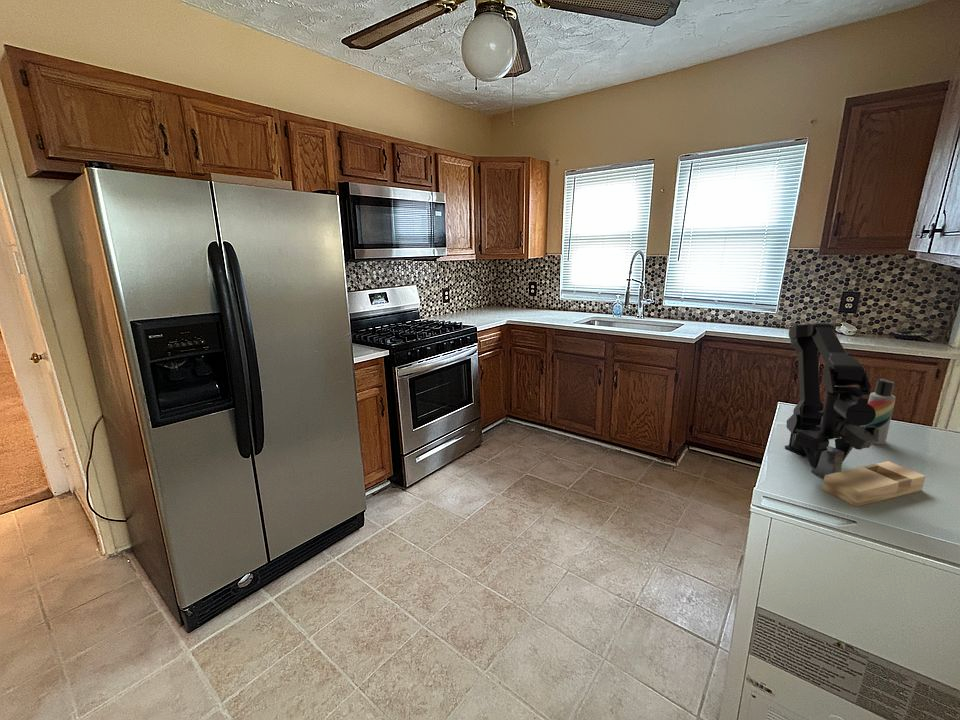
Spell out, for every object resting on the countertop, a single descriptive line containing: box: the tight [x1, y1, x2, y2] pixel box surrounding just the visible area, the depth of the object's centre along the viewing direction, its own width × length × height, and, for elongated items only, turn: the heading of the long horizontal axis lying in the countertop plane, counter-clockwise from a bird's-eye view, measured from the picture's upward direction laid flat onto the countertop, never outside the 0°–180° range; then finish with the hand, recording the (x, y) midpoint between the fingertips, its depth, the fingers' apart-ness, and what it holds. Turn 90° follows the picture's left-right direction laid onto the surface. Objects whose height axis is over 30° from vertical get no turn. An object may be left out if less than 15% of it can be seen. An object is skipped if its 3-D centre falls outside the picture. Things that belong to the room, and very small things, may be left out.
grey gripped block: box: [810, 445, 844, 479], centre depth 112 cm, size 5×3×8 cm, turn 15°
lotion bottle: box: [864, 378, 896, 445], centre depth 129 cm, size 6×6×20 cm
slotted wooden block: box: [821, 460, 927, 508], centre depth 106 cm, size 8×22×4 cm, turn 105°
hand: (826, 464), depth 112 cm, fingers open, 9 cm apart
